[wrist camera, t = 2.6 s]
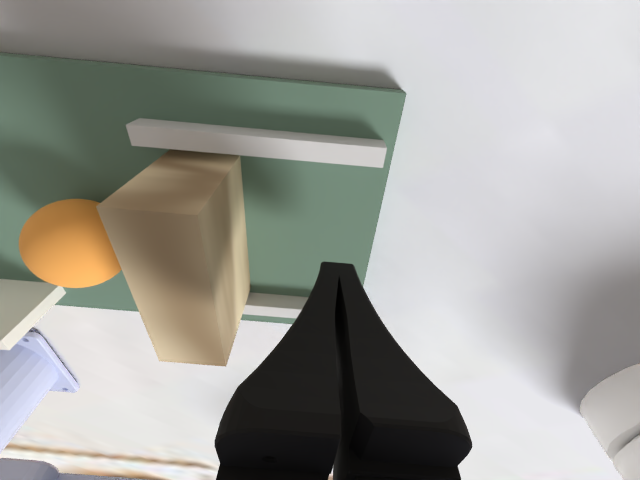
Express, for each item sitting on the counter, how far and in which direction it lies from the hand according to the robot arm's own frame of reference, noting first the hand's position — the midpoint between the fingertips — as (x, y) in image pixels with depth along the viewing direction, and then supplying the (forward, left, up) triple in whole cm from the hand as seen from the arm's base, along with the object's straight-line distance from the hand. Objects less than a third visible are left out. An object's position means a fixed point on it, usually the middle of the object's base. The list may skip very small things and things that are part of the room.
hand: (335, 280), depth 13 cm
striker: (-6, 0, -3) cm, 7 cm away
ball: (-12, 0, -1) cm, 12 cm away
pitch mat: (-11, 0, -4) cm, 11 cm away
